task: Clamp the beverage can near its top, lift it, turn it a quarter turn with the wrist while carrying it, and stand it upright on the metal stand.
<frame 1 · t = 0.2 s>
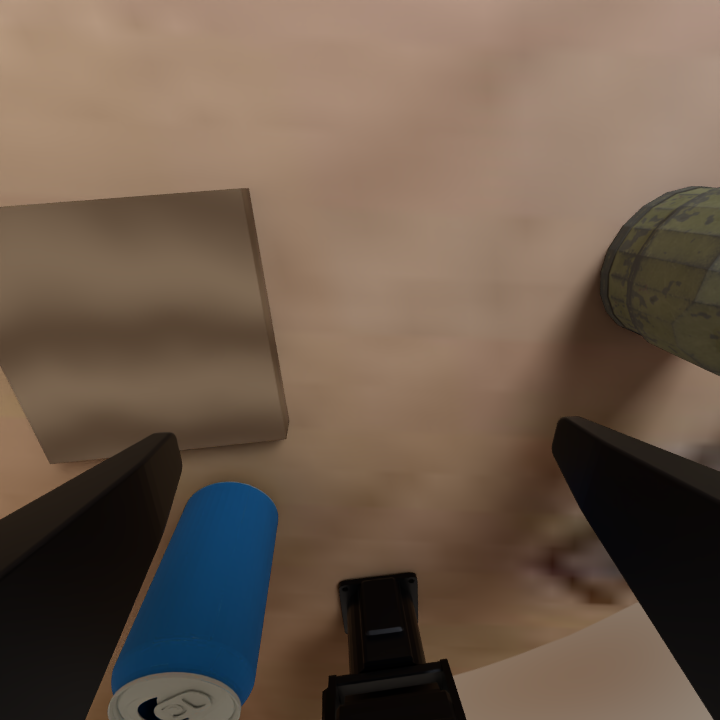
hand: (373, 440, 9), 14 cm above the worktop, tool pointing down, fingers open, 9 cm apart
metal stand: (149, 330, 22), on the worktop
beverage can: (235, 507, 28), on the worktop
thermos: (668, 266, 23), on the worktop
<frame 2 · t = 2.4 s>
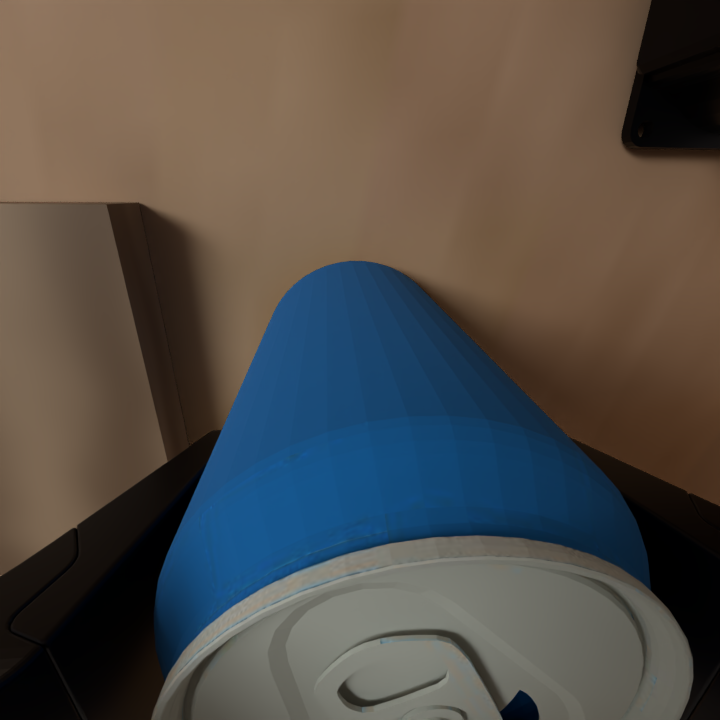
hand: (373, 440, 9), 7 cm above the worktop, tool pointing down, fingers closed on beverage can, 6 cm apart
beverage can: (353, 340, 15), on the worktop, touching gripper
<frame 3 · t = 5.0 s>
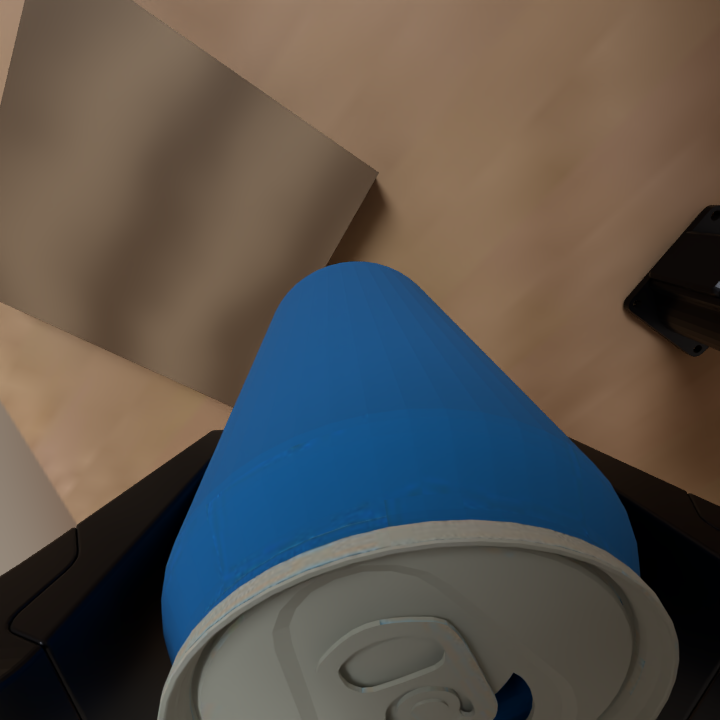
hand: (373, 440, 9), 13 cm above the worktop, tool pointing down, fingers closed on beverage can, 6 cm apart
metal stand: (180, 225, 19), on the worktop
beverage can: (354, 339, 15), point 6 cm above the worktop, touching gripper
when the fingers open (10 cm above the worktop, at t = 7.1 s): beverage can drops 1 cm, resting on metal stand.
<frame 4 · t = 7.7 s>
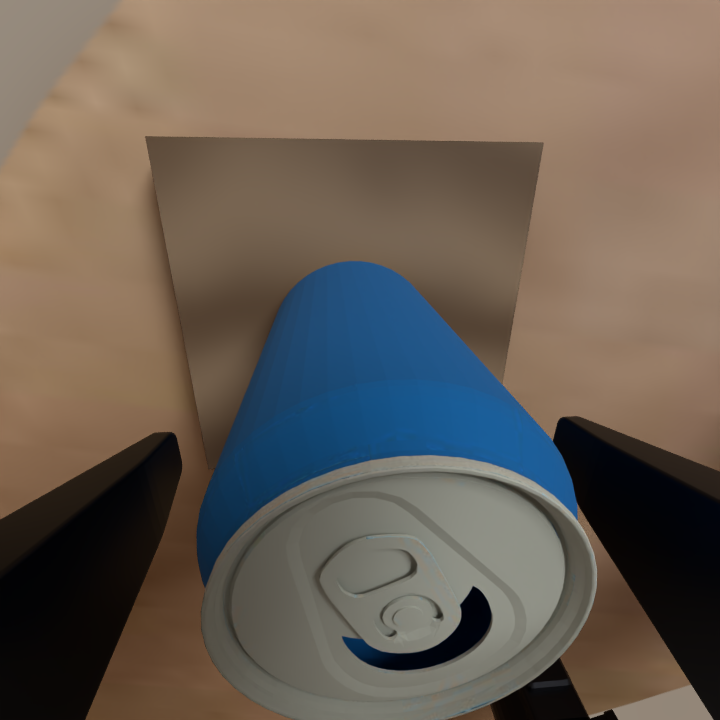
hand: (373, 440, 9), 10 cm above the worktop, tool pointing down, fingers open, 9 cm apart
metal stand: (350, 314, 18), on the worktop
beverage can: (352, 333, 17), point 2 cm above the worktop, touching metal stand
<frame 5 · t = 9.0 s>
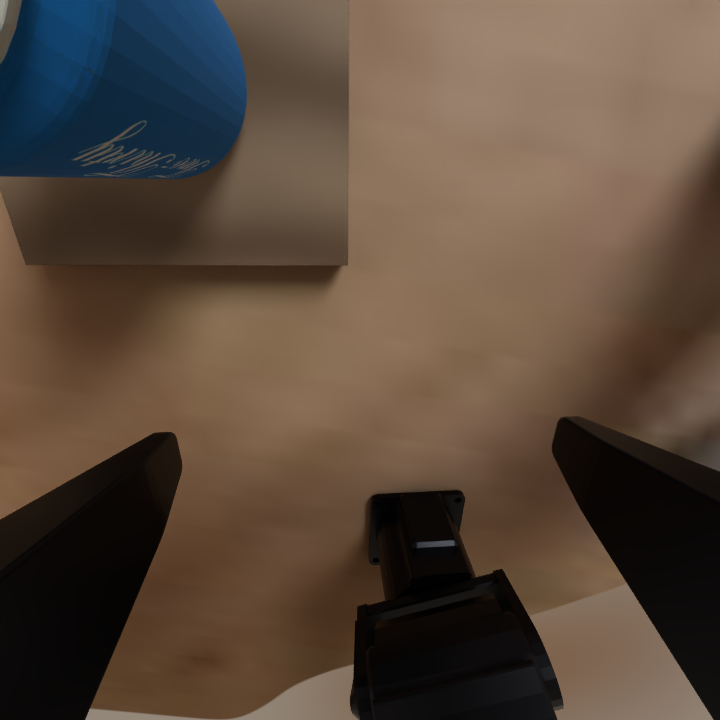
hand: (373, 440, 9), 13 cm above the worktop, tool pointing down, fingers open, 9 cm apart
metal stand: (179, 87, 16), on the worktop
beverage can: (164, 85, 15), point 2 cm above the worktop, touching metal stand
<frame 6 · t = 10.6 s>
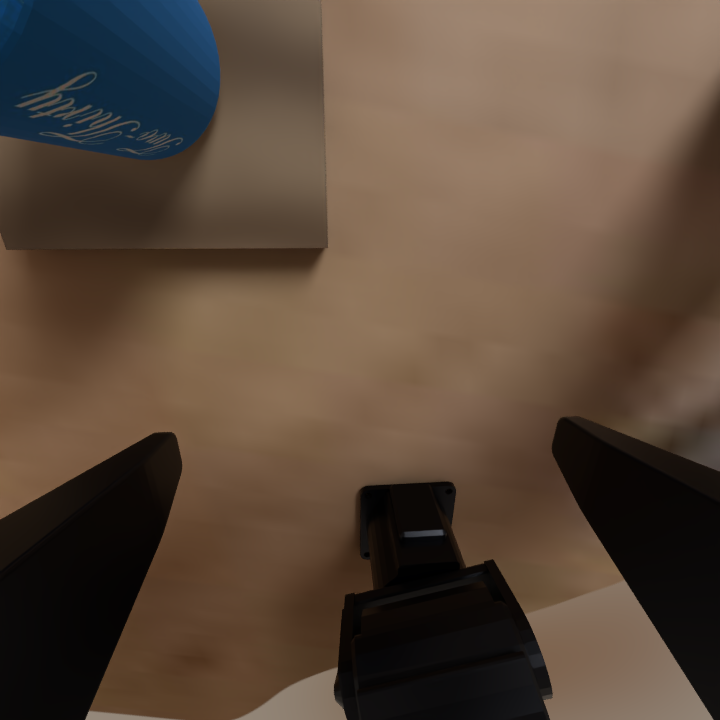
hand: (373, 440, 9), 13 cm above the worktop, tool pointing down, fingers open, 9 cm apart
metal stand: (157, 72, 16), on the worktop
beverage can: (140, 67, 15), point 2 cm above the worktop, touching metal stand
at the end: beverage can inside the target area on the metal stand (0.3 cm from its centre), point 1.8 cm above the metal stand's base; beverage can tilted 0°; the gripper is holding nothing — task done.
